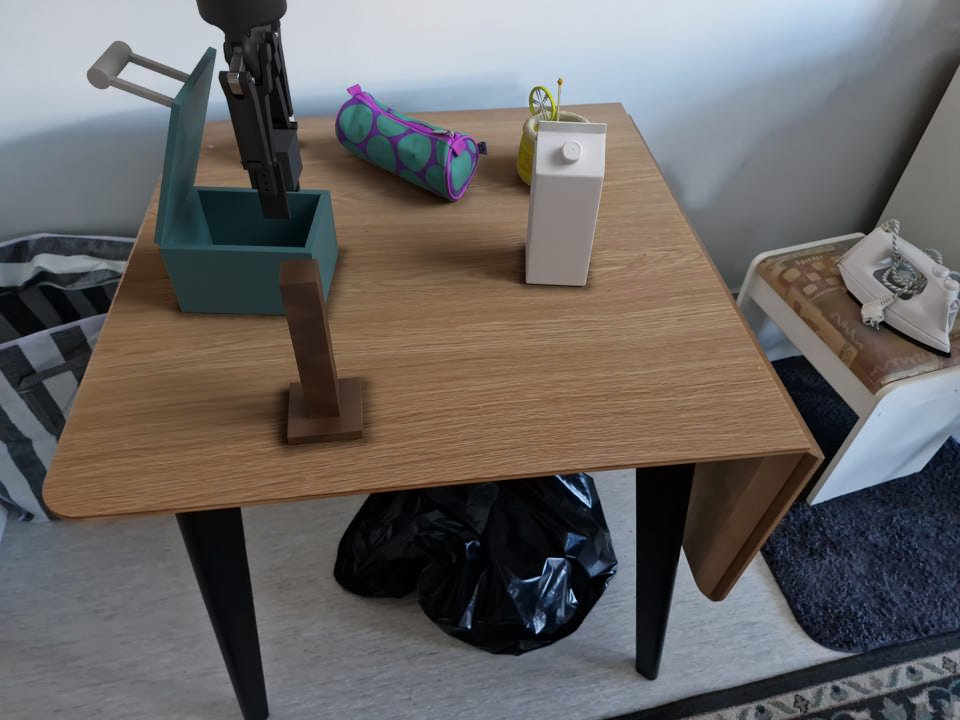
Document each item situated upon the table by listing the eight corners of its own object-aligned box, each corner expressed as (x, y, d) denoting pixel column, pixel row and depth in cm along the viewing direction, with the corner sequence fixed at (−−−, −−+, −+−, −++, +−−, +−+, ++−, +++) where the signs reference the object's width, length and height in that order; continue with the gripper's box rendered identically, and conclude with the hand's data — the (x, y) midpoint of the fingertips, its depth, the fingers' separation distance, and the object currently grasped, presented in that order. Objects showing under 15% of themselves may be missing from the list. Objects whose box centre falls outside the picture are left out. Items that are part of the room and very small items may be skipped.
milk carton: (525, 248, 91) (538, 104, 77) (581, 250, 91) (604, 107, 77) (525, 284, 86) (539, 138, 72) (585, 287, 86) (610, 141, 72)
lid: (217, 49, 72) (123, 12, 69) (181, 105, 63) (73, 65, 61) (194, 183, 83) (113, 155, 80) (161, 245, 74) (69, 216, 72)
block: (295, 190, 74) (287, 152, 71) (251, 189, 74) (242, 150, 71) (303, 167, 77) (296, 129, 74) (261, 166, 77) (253, 128, 74)
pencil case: (486, 185, 101) (489, 121, 94) (447, 214, 96) (447, 148, 89) (375, 138, 109) (370, 75, 102) (333, 162, 104) (325, 98, 97)
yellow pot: (596, 200, 99) (609, 118, 90) (516, 198, 99) (522, 115, 90) (588, 152, 108) (600, 73, 99) (515, 149, 108) (520, 70, 99)
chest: (338, 252, 89) (329, 189, 83) (322, 316, 81) (311, 252, 75) (210, 248, 89) (192, 185, 83) (181, 312, 81) (158, 248, 75)
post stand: (288, 445, 69) (250, 302, 56) (291, 390, 73) (257, 247, 60) (363, 438, 69) (342, 295, 56) (361, 384, 74) (341, 242, 61)
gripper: (255, 7, 55) (302, 254, 71) (299, -65, 67) (330, 161, 84) (156, 4, 55) (226, 251, 71) (218, -67, 67) (265, 159, 84)
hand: (282, 202), depth 77 cm, fingers closed on block, 4 cm apart
